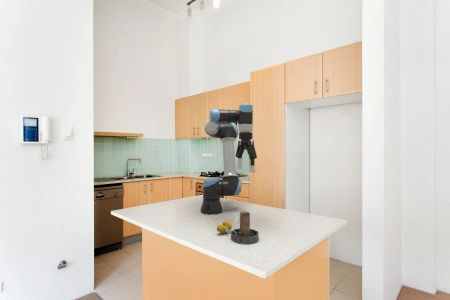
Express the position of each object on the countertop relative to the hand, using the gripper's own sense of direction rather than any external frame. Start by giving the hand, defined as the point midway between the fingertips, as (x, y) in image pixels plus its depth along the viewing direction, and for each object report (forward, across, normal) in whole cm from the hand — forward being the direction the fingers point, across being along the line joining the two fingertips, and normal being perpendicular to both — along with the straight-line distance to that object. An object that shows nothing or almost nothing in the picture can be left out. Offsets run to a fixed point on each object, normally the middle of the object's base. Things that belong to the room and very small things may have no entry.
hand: (245, 170), depth 135 cm
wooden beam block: (+30, +16, -9) cm, 35 cm away
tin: (+31, +16, -9) cm, 36 cm away
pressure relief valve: (+31, +8, -13) cm, 35 cm away
